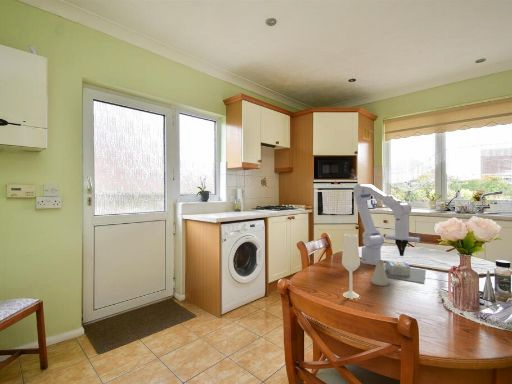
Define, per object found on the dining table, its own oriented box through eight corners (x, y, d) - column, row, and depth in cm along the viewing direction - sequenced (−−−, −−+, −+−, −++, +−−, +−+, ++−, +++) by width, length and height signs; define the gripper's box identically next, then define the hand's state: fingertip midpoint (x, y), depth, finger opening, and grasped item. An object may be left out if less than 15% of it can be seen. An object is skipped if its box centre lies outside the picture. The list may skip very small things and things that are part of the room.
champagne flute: (345, 290, 107) (345, 232, 106) (362, 295, 103) (362, 234, 102) (339, 296, 102) (338, 235, 101) (356, 301, 97) (356, 237, 97)
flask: (381, 287, 110) (381, 264, 109) (367, 282, 116) (367, 259, 116) (392, 284, 113) (392, 261, 113) (378, 279, 119) (377, 257, 119)
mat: (378, 276, 123) (378, 275, 123) (385, 264, 139) (385, 264, 139) (423, 283, 113) (424, 282, 113) (425, 270, 129) (425, 269, 129)
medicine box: (410, 266, 121) (390, 265, 123) (410, 276, 121) (390, 275, 123) (404, 261, 129) (385, 260, 130) (404, 270, 129) (385, 269, 131)
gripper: (383, 227, 127) (384, 255, 128) (418, 230, 119) (418, 259, 119) (386, 225, 133) (386, 252, 134) (419, 228, 125) (419, 256, 125)
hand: (401, 255), depth 127 cm, fingers closed
